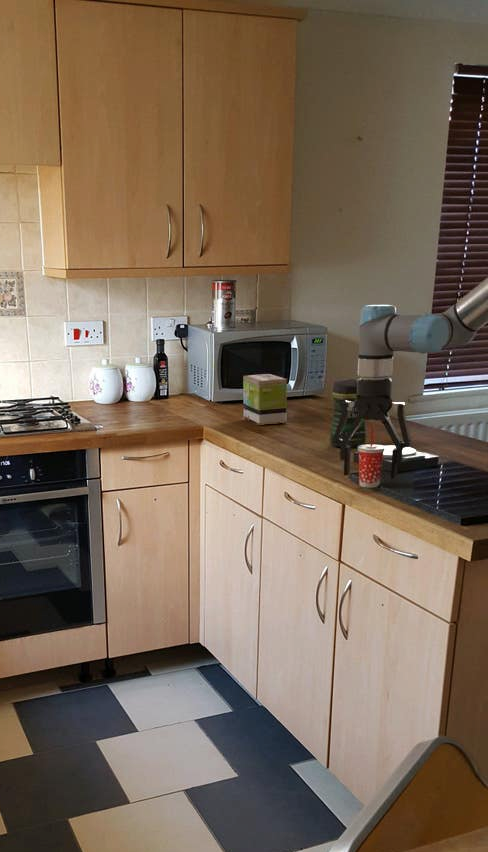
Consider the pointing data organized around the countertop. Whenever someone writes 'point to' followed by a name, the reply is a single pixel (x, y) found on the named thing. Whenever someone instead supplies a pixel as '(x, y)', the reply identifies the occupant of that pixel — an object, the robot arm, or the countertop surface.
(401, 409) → the robot arm
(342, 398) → the coffee jar
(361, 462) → the beverage cup
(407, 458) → the kitchen scale
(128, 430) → the countertop surface
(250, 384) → the tea box
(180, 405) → the countertop surface
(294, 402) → the countertop surface
